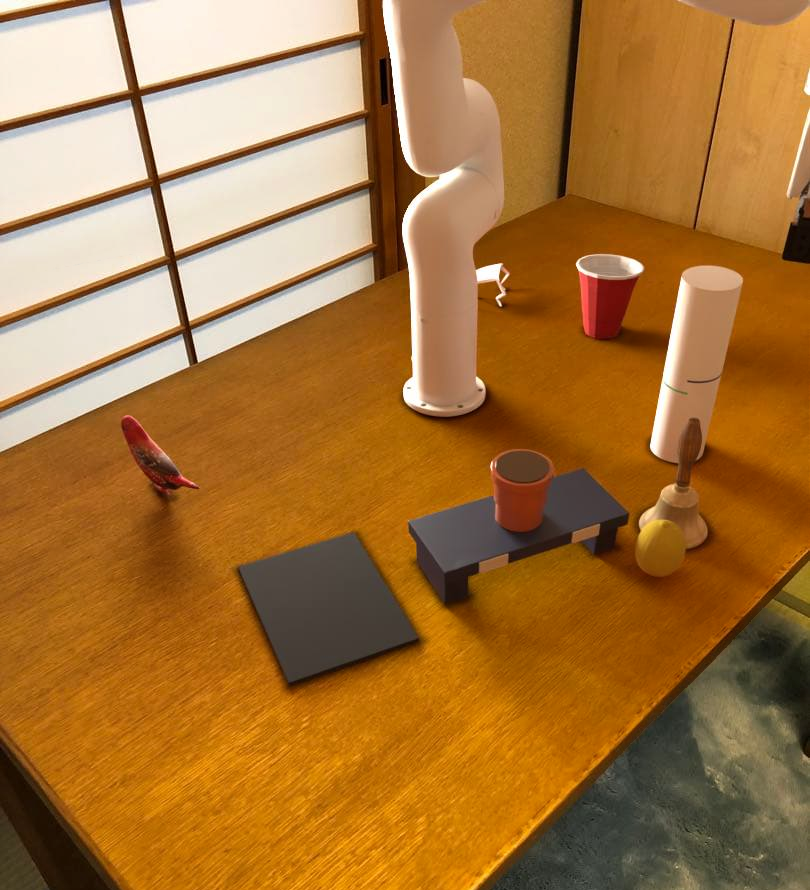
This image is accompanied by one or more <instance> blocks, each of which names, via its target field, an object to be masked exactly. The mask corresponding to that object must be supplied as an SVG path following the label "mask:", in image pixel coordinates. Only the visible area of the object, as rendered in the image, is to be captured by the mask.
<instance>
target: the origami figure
mask: <svg viewBox="0 0 810 890" xmlns="http://www.w3.org/2000/svg"><path fill="white" fill-rule="evenodd" d="M501 272H503V273H505V276H504V277H503V278H502V280H501V282H500V278H499V277H500V273H501ZM476 273H477V280H478V285H479V284H485V283H491V282H496V284H497V286H498V288H499V290H500V292H501V294H499V295H498V296H496V297H495V300H496V302H497V304H498V306H499V307H502V306H503V304H502V302H501V300H500V299H502V298H504V297H506V296H507V292H506V291H507V289H506V288H505V287H504V286H503V283H504V282H505V281H506V279H508V277H509V276H510V275H511V273H510V271H508V270H507V269H506V268H505V266H504V263H497V264H492V265H487V266H484V267H481V268H478V269H476Z"/></svg>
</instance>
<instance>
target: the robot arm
mask: <svg viewBox="0 0 810 890" xmlns="http://www.w3.org/2000/svg"><path fill="white" fill-rule="evenodd" d="M487 1H488V0H382V9H383V10H382V11H383V20H384V26H385V32H386V36H387V42H388V47H389V53H390V59H391V61H390V62H391V68H392V69H391V70H392V79H393V89H394V95H395V105H396V111H397V120H398V128H399V135H400V142H401V143H400V144H401V148H402V153H403V155H404V158H405V161H406V163H407V164H408V166H409V168H410V169H412V170H413V171H414V172H415V173H416V174H418V175H420V176H422V177H426V178H435V177H436V178H437V177H439V179H438V180H436V181H434V182H433V183H432V184H430V185H429V186H428V187H427V188H425V189H424V190H422V191H421V192H420V193H419V194H418V195H416V197H415V198H414V199H412V201H411V203H410V204H409V205H408V208H407V210H406V212H405V214H404V217H403V221H402V241H403V244H404V250H405V255H406V260H407V264H408V265H407V266H408V272H409V275H408V276H409V289H410V315H411V316H410V317H411V349H412V350H411V351H412V355H411V361H412V377H410V378H409V379H408V380H407V381H406V382H405V384H404V386H403V391H402V392H403V399H404V402H405V404H406V405H407V406H408V407H409V408H411V409H413V410H414V411H416V412H418V413H420V414H423V415H426V416H431V417H432V416H433V417H441V418H443V417H445V418H446V417H457V416H461V415H465V414H468V413H470V412H472V411H475V410H476V409H477V408H479V407H480V406H481V405H482V404H483V403H484V402H485V399H486V393H487V389H486V385H485V383H484V381H482V379H480V378H479V377H478V376H477V350H478V349H477V348H478V346H477V345H478V313H479V312H478V308H479V284H478V280H477V273H476V270H477V269H476V264H475V261H474V246H475V245H476V243H478V242H479V240H480V239H481V238H483V236H485V234H486V233H488V232H489V231H490V230H491V229H492V228H493V227H494V226H495V225H496V223H497V222H498V221H499V219H500V218H501V215H502V212H503V209H504V205H505V204H504V203H505V178H504V177H505V176H504V160H503V148H502V133H501V132H502V131H501V121H500V116H499V112H498V108H497V105H496V101H495V100H494V98H493V96H492V95H491V93H490V92H489V91H488V89H487V88H486V87H485V86H484V85H483V84H481V83H480V82H478V81H476V80H474V79H472V78H468V77H464V73H463V56H462V49H461V46H460V45H461V44H460V41H459V37H458V35H457V32H456V30H455V28H454V24H453V21H454V18H455V16H457V15H458V14H459V13H461V12H463V11H465V10H468V9H470V8H472V7H475V6H478V5H480V4H482V3H485V2H487ZM676 1H677V2H680V3H682V4H685V5H687V6H691V7H692V8H695V9H698V10H702V11H705V12H708V13H711V14H714V15H717V16H722V17H725V18H728V19H732V20H735V21H739V22H743V23H747V24H751V25H754V26H755V25H756V26H761V27H762V26H763V27H771V26H772V27H774V26H779V25H780V26H781V25H785V24H788V23H790V22H792V21H793V20H796V19H797V18H799V17H800V16H801V15H803V14H804V13H805V12H806V11H807V10H808V9H809V8H810V0H676ZM803 91H804V93H805V94H806V95H808V96H810V67H809V69H808V72H807V77H806V81H805V85H804V88H803ZM786 197H787V199H788V200H793V198H799V200H798V203H797V206H796V210H795V213H794V217H793V220H792V221H790V223H789V226H788V231H787V234H786V238H785V243H784V247H783V251H782V255H781V259H782V260H783V261H785V262H793V263H798V264H807V265H810V108H809V110H808V112H807V116H806V119H805V123H804V126H803V130H802V134H801V138H800V142H799V145H798V149H797V153H796V158H795V160H794V165H793V169H792V172H791V177H790V179H789V184H788V187H787V190H786Z"/></svg>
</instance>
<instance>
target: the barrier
mask: <svg viewBox="0 0 810 890" xmlns="http://www.w3.org/2000/svg"><path fill="white" fill-rule="evenodd" d="M629 519H630V512H629V511H628V510H627V509H626V508H625V507H624V506H623V505H622V504H621V503H620V502H619V501H618V500H617V499H616V498H615V497H614V496H613V495H612V494H611V493H610V492H609V491H608V490H607V489H605V487H604V486H602V484H601V483H600V482H599V481H598V480H597V479H595V477H593V476H592V475H591V474H590V473H589V472H588V471H587V470H586V468H584V467H583V468H579V469H576V470H575V469H574V470H572V471H569V472H566V473H561V474H560V475H556V476H553V480H552V482H551V484H550V485H549V487H548V498H547V502H546V504H545V505H544V512H543V520H542V523H541V524H540V525H539V526H538V527H537V528H535V529H533V530H530V531H526V532H515V531H510V530H507V529H505V528H503V527H502V526H500V525H499V524H498V523H497V521H496V519H495V501H494V498H493V494H492V495H490V496H486V497H483V498H480V499H476V500H473V501H470V502H466V503H463V504H458V505H456V506H452V507H449V508H447V509H443V510H439V511H436V512H433V513H430V514H425V515H422V516H420V517H416V518H413V519H410V520H407V524H408V525H407V526H408V528H407V529H408V534H409V535H410V537H411V538H412V539H413V541H414V542H415V548H416V550H415V551H416V564H417V565H418V566H419V568H420V569H421V571H422V572H423V574H424V576H425V577H426V579H427V580H428V581H429V583H430V584H431V586H432V587H433V589H434V591H435V592H436V593H437V595H438V596H439V598H440V599H441V601H442V602H443V604H444V605H447V604H450V603H454V602H457V601H459V600H462V599H466V598H468V597H469V578H470V577H472V576H475V575H481V574H484V573H488V572H490V571H494V570H497V569H499V568H502V567H505V566H506V567H507V566H508V565H509V564H511V563H515V562H517V561H521V560H524V559H528V558H531V557H533V556H536V555H540V554H543V553H546V552H548V551H552V550H554V549H557V548H561V547H564V546H566V545H569V544H576V543H579V542H582V543H583V544H584V545H585V546H586V548H587V549H588V550H589V551H590V552H591V553H592V554H593V555H597V554H600V553H602V552H605V551H609V550H612V549H615V548H616V543H617V537H618V530H619V528H622V527H624V526H627V525H628V524H629Z"/></svg>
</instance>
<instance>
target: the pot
mask: <svg viewBox="0 0 810 890" xmlns="http://www.w3.org/2000/svg"><path fill="white" fill-rule="evenodd" d="M554 471H555V467H554V464H553V462H552V460H551V459H550V457H548V456H546V455H545V454H543V453H541V452H539V451H536V450H532V449H525V448H517V449H510V450H506V451H503V452H500V453H498V454H497V455H496V456H495V457H494V458H493V459H492V461H491V463H490V479H491V481H492V482H493V489H492V495H493V498H494V501H495V519H496V521H497V523H498V524H499V525H500V526H502V527H503V528H505V529H507V530H510V531H515V532H526V531H530V530H533V529H535V528H537V527H538V526H539V525H540V524H541V523H542V520H543V512H544V505H545V504H546V502H547V498H548V487H549V485H550V484H551V482H552V480H553V477H554Z"/></svg>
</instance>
